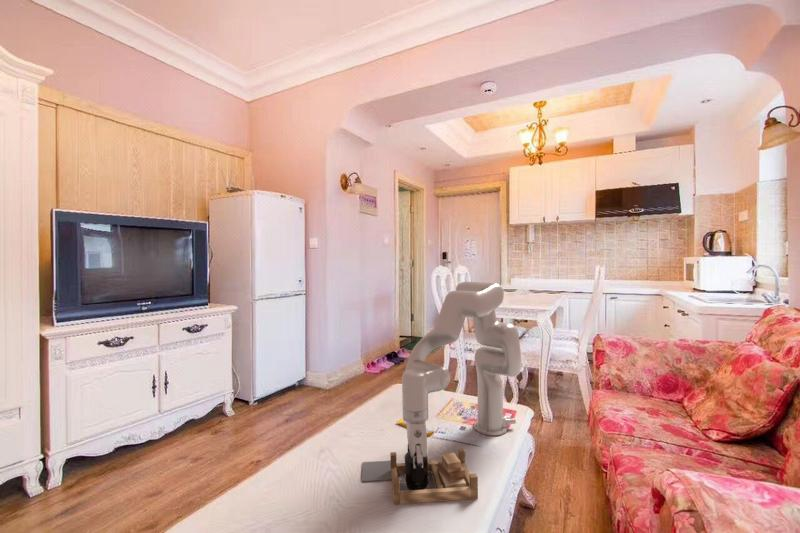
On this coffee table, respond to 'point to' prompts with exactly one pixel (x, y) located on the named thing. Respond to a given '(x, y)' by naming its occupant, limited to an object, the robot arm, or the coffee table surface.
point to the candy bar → (404, 424)
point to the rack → (439, 492)
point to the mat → (376, 471)
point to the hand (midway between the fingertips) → (416, 472)
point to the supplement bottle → (408, 473)
